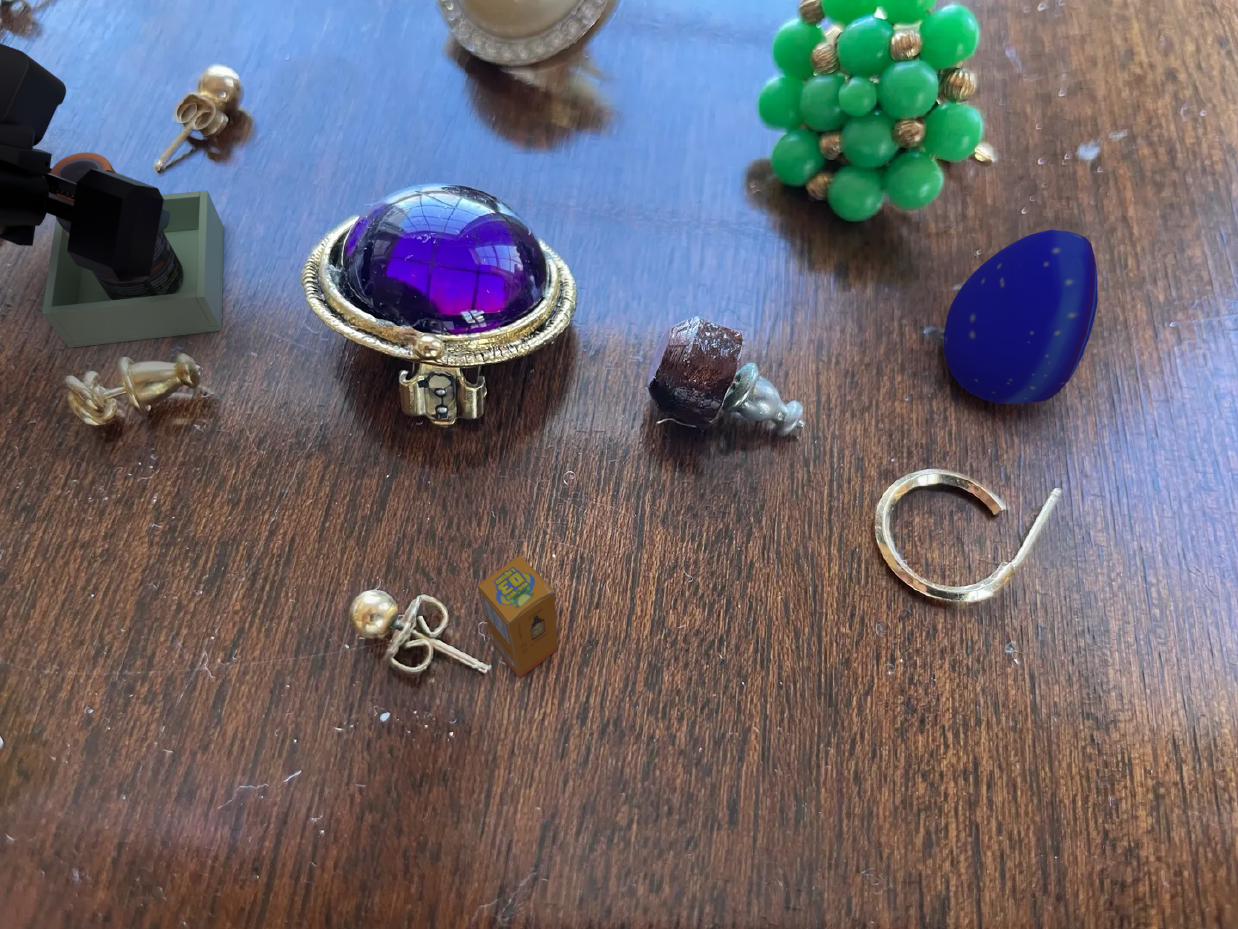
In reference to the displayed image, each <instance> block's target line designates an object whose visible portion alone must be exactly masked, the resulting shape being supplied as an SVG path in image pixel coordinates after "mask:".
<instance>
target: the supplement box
mask: <svg viewBox="0 0 1238 929" xmlns="http://www.w3.org/2000/svg"><path fill="white" fill-rule="evenodd" d="M477 589H478V594H479V597H480V601H481V605H482V609H483V613H484V616H485V621H486V625H487V629H488V632H489V636H490V639H491V642H492V645H493V646H494V647H495V649H496V650H497V653H499V654H500V656H501V657H502V659H503V660H504V661H505V663H506V664H507V665H508V667H509V668H510V669H511V670H512V672H513V673H514V674H515V675H516V676H517V677H518V678H523V677H524V676H525V675H526V674H528V673H529V672H530V671H532V670H533V669H535V668H536V667H537V666H538V665H540V664H541V663H542V662H544V661H545V660H546V659H548V658H549V657H550V656H551V655H552V654H554V653H555V652H556V651H557V650H558V649H559V646H558V631H557V630H558V628H557V615H556V614H557V613H556V598H555V597H556V596H555V595H556V594H555V592H556V591H555V589H554V588H553V586H551V584H549V583H548V582H547V581H546V579H544V578H543V577H542V576H541V575H540V574H539V573H538V572H537V571H536V570H535V569H534V568H533V566H531V565H530V564H529V563H528V562H527V560H526V559H525V558H524V557H523V556H522V555H518V556H517V557H515V558H514V559H512V560H511V561H510V562H508V563H507V564H505V565H503V566H501V568H500V569H498V570H496V571H495V572H494V573H492V574H491V575H489V576H488V577H487V578H485V579H483V580H482V581H480V583H478V584H477Z"/></svg>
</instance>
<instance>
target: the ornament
mask: <svg viewBox="0 0 1238 929" xmlns="http://www.w3.org/2000/svg"><path fill="white" fill-rule="evenodd" d="M1095 256H1096V255H1095V253H1094V248H1093V245H1092V243H1091V242H1090V240H1089V239H1088V238H1087V237H1085V236H1083V235H1081V234H1078V233H1075V232H1072V231H1069V230H1062V229H1061V230H1060V229H1048V230H1044V231H1038V232H1035V233H1032V234H1028V235H1026V236H1024V237H1022V238H1020V239H1017V240H1016V241H1014V242H1012V243H1011V244H1008V245H1006V246H1005V247H1004V248H1002V249H1001V250H999V251H998V252H996V253H995V254H994V255H993V256H992V257H990V258H988V259H987V260H986V261H984V262H983V263H982V264H981V265H979V267H978V268H977V269H976V270H975V271H973V272H972V273H971V275H970V276H969V277H968V279H967V280H966V281H965V282H964V283H963V284H962V285H961V287H960V289H959V291H958V292H957V293H956V295H955V297H954V299H953V301H952V302H951V304H950V307H949V309H948V313H947V316H946V320H945V325H944V331H943V353H944V358H945V362H946V366H947V368H948V370H949V372H950V374H951V376H952V377H953V378H954V380H955V381H956V383H957V384H958V385H959V386H960V387H961V388H963V389H964V390H965V391H966V392H968V393H969V394H971V395H973V396H975V397H977V398H979V399H981V400H984V401H987V402H991V403H996V404H1003V405H1022V404H1026V405H1027V404H1033V403H1041V402H1046V401H1048V400H1050V399H1051V398H1053V397H1054V396H1056V395H1057V394H1058V393H1059V392H1061V390H1062V389H1063V388H1064V387H1065V386H1066V384H1068V382H1070V380H1071V378H1072V377H1073V375H1074V374H1075V372H1076V370H1077V368H1078V366H1079V364H1080V362H1081V360H1082V358H1083V356H1084V354H1085V351H1086V348H1087V344H1088V342H1089V340H1090V337H1091V333H1092V329H1093V326H1094V323H1095V318H1096V313H1097V308H1098V303H1099V296H1098V293H1099V292H1098V291H1099V290H1098V269H1097V262H1096V257H1095Z"/></svg>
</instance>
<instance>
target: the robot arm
mask: <svg viewBox="0 0 1238 929" xmlns="http://www.w3.org/2000/svg"><path fill="white" fill-rule="evenodd" d="M66 95H67V87H66V85H65V83H64V81H62V80H61V79H60V78H58V77H57V76H55V75H54V74H53V73H52V72H51V71H49V70H48V69H47V68H45V67H44V66H43V65H41V64H40V63H38V62H37V61H36V60H34V58H32V57H31V56H29V55H28V54H26V53H25V52H24V51H22V50H20V49H18V48H14V47H12V46H8V45H6V44H4V43H0V239H2V240H4V241H7V242H9V243H11V244H14V245H17V246H20V247H21V246H23V247H33V246H34V240H35V233H36V227H40V226H41V225H42V223H43V222H44V220H45V219H46V216H47V214H48V215H51V216H53V217H55V218H56V217H59V218H61V219H64V220H66V221H69V222H71V226H70V233H69V240H68V247H67V252H68V253H69V255H70V256H71V258H72V259H73V261H74V262H75V264H76V265H78V266H80V267H83V268H85V269H88V270H91V271H93V272H96V273H98V274H101V275H103V276H106V277H109V278H111V279H114V280H116V281H119V282H142V281H144V280H146V279H147V278H149V277H150V276H151V271H152V265H153V259H154V254H155V248H156V242H157V236H158V234H159V233H160V232H162V231H163V230H164V229H165V228H167V227H168V224H169V219H170V213H169V212H168V211H165V210H162V208H163V202H164V199H163V197H162V195H163V194H162V193H161V191H160V189H159V187H156V186H154V185H151V184H148V183H145V182H143V181H141V180H137V179H134V178H132V177H129V176H127V175H125V174H122V175H120V174H121V173H119V172H116V171H115V172H116V173H115V172H112V171H109V170H106V171H105V170H98V169H90V170H89V171H88V172H87V173H86V174H85V175H84V176H82V177H81V178H80V179H79V180H78V181H77V183H74V182H71V181H69V180H66V179H63V178H61V177H58V176H55V175H53V174H50V172H51V170H52V168H53V167H51V164H52V158H53V157H52V156H53V154H52V153H51V152H49V151H46V150H43V149H40V148H35V146H37V145H38V144H40V143H41V142H42V141H43V138H44V136H45V135H46V133H47V130H48V129H49V126H50V123H51V122H52V119H53V117H54V115H55V113H56V111H57V109H58V107H59V106H60V105H62V104H63V103H64V100H65V98H66ZM118 173H119V174H118ZM124 175H125V176H124ZM126 176H127V177H126ZM57 194H60V195H63V196H65V197H69V198H70V199H74V201H71V200H69V199H66V198H64V197H61V196H58V195H57Z"/></svg>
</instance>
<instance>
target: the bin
mask: <svg viewBox="0 0 1238 929" xmlns="http://www.w3.org/2000/svg"><path fill="white" fill-rule="evenodd" d="M161 195H162V197H163V199H164V202H163V208H162V210H165V211H168V212H169V213H170V219H169V224H168V227H167V228H165V229H164V230H163V232H164V234H165V236H166V237H167V239H168V241H169V243H170V245H171V246H172V248H173V250H174V252H175V254H176V256H177V257H178V259H179V261H180V263H181V265H182V268H183V278H182V283H181V285H180V286H179V288H178V289H177V290H176V292H175V293H174V294H168V295H158V296H149V297H140V298H130V299H121V300H112V299H111V298H110V297H109V296H108V295H107V293H106V292H105V290H104V289H103V287H102V286H101V284H100V283H99V281H98V280H97V278H96V277H95V275H94V274H93V272H92V271H91V270H88V269H85V268H83V267H80V266H78V265H76V264H75V262H74V261H73V259H72V258H71V256H70V255H69V253H68V252H67V247H68V240H69V237H68V235H67V234H66V232H65V231H64V230H63V228H62V227H61V225H60V224H59V222H58V221H57V219H56V218H55V223H54V229H53V237H52V243H51V249H50V257H49V264H48V270H47V277H46V284H45V291H44V298H43V304H42V311H41V315H42V316H43V317H44V319H46V321H47V322H48V324H49V325H50V326H51V327H52V329H53V330H54V331H55V333H56V334H57V336H59V338H60V339H61V340H62V341H63V342H64V344H65V345H66V346H67V348H69V349H71V348H80V347H81V348H82V347H88V346H99V345H107V344H116V343H127V342H133V341H142V340H152V339H160V338H161V339H162V338H170V337H179V336H187V335H197V334H206V333H215V332H222V330H223V292H224V291H223V286H224V243H225V241H224V236H225V227H224V225H223V222H222V220H221V218H220V215H219V213H218V210H217V209H216V206H215V205H214V204H215V203H214V201H213V200H212V197H211V195H210V193H209V191H208V190H201V191H197V190H196V191H189V192H188V191H186V192H177V193H166V194H161Z"/></svg>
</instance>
